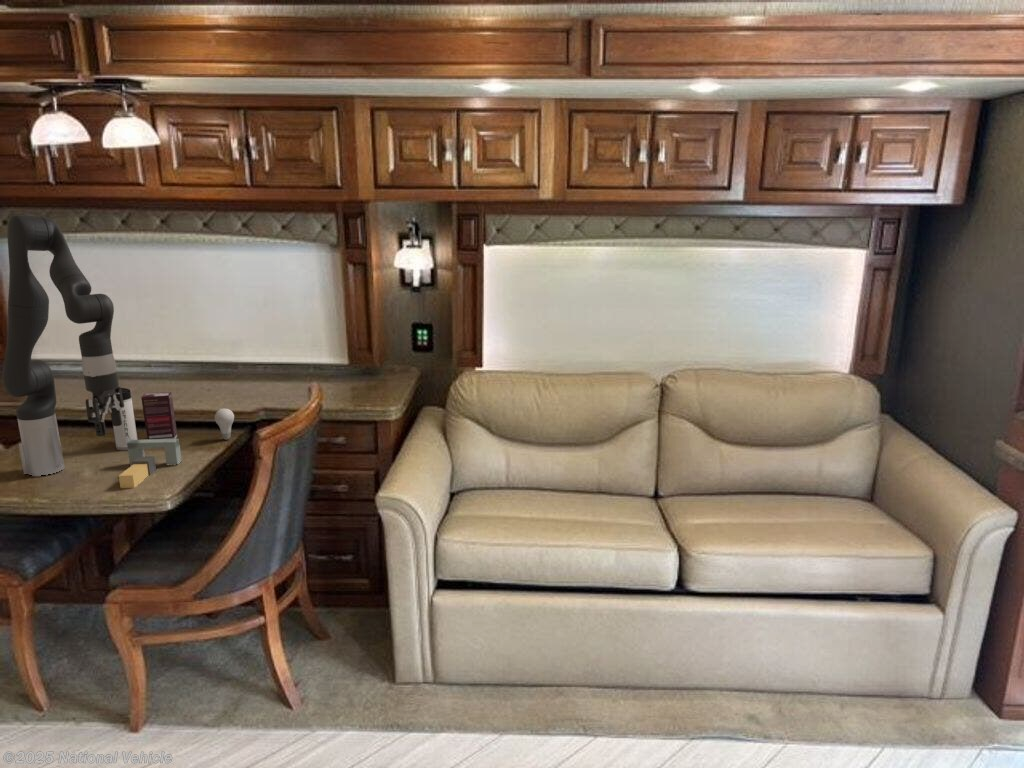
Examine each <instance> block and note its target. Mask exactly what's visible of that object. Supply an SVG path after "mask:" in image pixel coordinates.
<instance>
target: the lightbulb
mask: <svg viewBox="0 0 1024 768" xmlns="http://www.w3.org/2000/svg"><path fill="white" fill-rule="evenodd" d="M214 421H215V423H216V424H217V425H218V427H219V429H220V433H221V436H222V439H224V440H226V441H228V440H230V439H231V435H232V434H231V432H232V425H233V423H234V421H235V414H234V412H233V411H232V410H231V409H229V408H220V409H218V410H217V411H216V412H215V414H214Z"/></svg>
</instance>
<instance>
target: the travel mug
mask: <svg viewBox="0 0 1024 768" xmlns="http://www.w3.org/2000/svg"><path fill="white" fill-rule="evenodd" d="M121 391H122V396H123V402H124V407H123V408H121V412H120V414H121V420H122V425H120V426H113V425H112V427H113V435H114V440H115V447H116V450H117V451H128V447H127V443H128V442H129V441H131V440H138V433H137V427H136V419H135V414H134V406H133V400H132V399H133V398H132V393H131V389H129V388H126V387H121ZM118 401H119V400H118ZM119 403H120V402H119ZM111 413H112V412H110V414H111Z"/></svg>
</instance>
